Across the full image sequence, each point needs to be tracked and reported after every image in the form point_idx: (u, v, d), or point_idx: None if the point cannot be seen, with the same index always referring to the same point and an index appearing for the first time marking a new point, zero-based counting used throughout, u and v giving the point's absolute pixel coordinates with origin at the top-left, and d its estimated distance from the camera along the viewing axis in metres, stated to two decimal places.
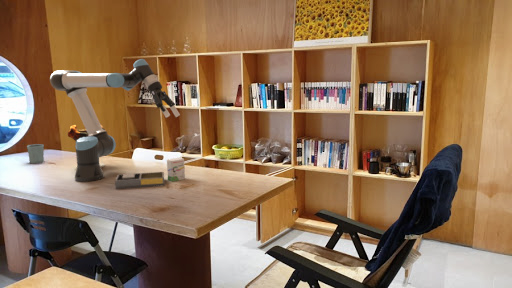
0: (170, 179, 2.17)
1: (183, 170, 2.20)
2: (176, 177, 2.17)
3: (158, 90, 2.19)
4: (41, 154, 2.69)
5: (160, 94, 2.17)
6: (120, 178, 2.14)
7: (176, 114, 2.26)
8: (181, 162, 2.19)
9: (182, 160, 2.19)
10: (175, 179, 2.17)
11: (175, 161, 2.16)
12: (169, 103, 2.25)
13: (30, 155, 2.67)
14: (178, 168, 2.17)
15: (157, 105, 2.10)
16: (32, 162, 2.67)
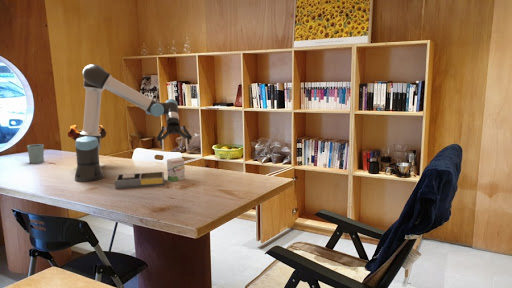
0: (170, 179, 2.17)
1: (183, 170, 2.20)
2: (176, 177, 2.17)
3: None
4: (41, 154, 2.69)
5: None
6: (120, 178, 2.14)
7: (163, 147, 2.28)
8: (181, 162, 2.19)
9: (182, 160, 2.19)
10: (175, 179, 2.17)
11: (175, 161, 2.16)
12: (164, 137, 2.32)
13: (30, 155, 2.67)
14: (178, 168, 2.17)
15: (191, 137, 2.35)
16: (32, 162, 2.67)
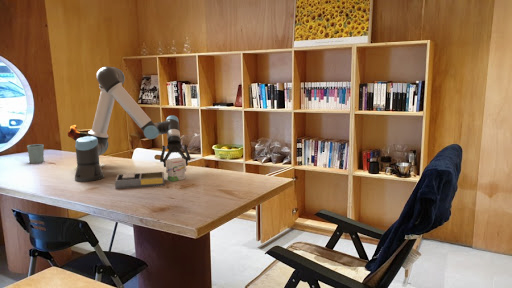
0: (170, 179, 2.17)
1: (183, 170, 2.20)
2: (176, 177, 2.17)
3: None
4: (41, 154, 2.69)
5: None
6: (120, 178, 2.14)
7: (167, 169, 2.17)
8: (181, 162, 2.19)
9: (182, 160, 2.19)
10: (175, 179, 2.17)
11: (175, 161, 2.16)
12: (167, 158, 2.22)
13: (30, 155, 2.67)
14: (178, 168, 2.17)
15: None
16: (32, 162, 2.67)
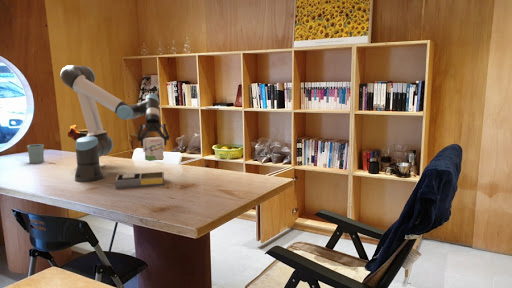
0: (147, 158, 2.08)
1: (161, 150, 2.11)
2: (154, 156, 2.09)
3: None
4: (41, 154, 2.69)
5: None
6: (120, 178, 2.14)
7: (144, 148, 2.08)
8: (159, 141, 2.10)
9: (160, 139, 2.10)
10: (153, 159, 2.08)
11: (153, 140, 2.07)
12: (145, 137, 2.13)
13: (30, 155, 2.67)
14: (156, 147, 2.09)
15: None
16: (32, 162, 2.67)
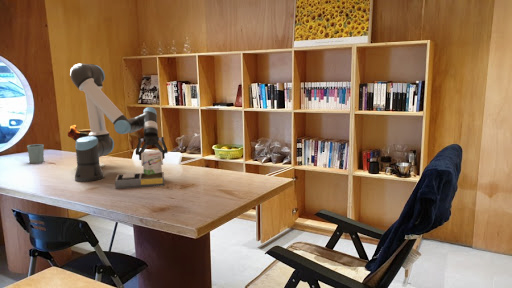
0: (146, 172, 2.08)
1: (160, 163, 2.11)
2: (153, 170, 2.09)
3: None
4: (41, 154, 2.69)
5: None
6: (120, 178, 2.14)
7: None
8: (157, 155, 2.10)
9: (158, 152, 2.10)
10: (151, 172, 2.08)
11: (151, 153, 2.07)
12: (143, 150, 2.13)
13: (30, 155, 2.67)
14: (154, 161, 2.09)
15: (167, 150, 2.14)
16: (32, 162, 2.67)
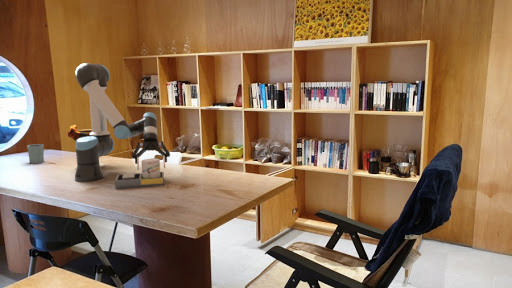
0: None
1: (158, 171, 2.12)
2: None
3: None
4: (41, 154, 2.69)
5: None
6: (120, 178, 2.14)
7: (138, 166, 2.09)
8: (156, 163, 2.11)
9: (157, 161, 2.11)
10: None
11: (150, 162, 2.08)
12: (140, 155, 2.13)
13: (30, 155, 2.67)
14: (153, 169, 2.09)
15: (169, 154, 2.16)
16: (32, 162, 2.67)
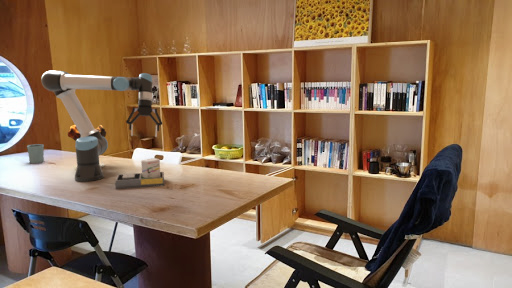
0: None
1: (158, 171, 2.12)
2: None
3: None
4: (41, 154, 2.69)
5: (150, 114, 2.32)
6: (120, 178, 2.14)
7: (132, 133, 2.26)
8: (156, 163, 2.11)
9: (157, 161, 2.11)
10: None
11: (150, 162, 2.08)
12: None
13: (30, 155, 2.67)
14: (153, 169, 2.09)
15: None
16: (32, 162, 2.67)
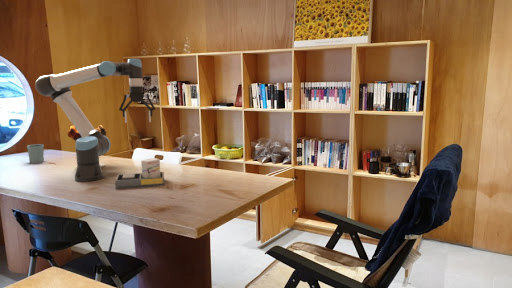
0: None
1: (158, 171, 2.12)
2: None
3: None
4: (41, 154, 2.69)
5: None
6: (120, 178, 2.14)
7: (126, 120, 2.30)
8: (156, 163, 2.11)
9: (157, 161, 2.11)
10: None
11: (150, 162, 2.08)
12: None
13: (30, 155, 2.67)
14: (153, 169, 2.09)
15: None
16: (32, 162, 2.67)
